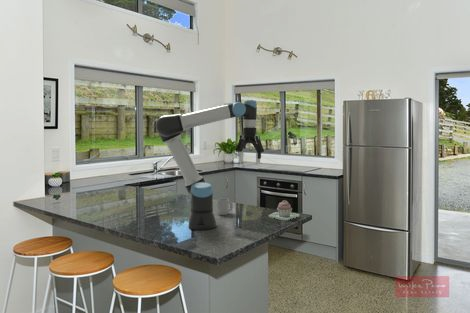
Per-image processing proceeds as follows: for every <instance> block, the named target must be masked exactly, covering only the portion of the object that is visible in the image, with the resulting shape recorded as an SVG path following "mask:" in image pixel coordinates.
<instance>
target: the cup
mask: <svg viewBox="0 0 470 313" xmlns="http://www.w3.org/2000/svg"><path fill="white" fill-rule="evenodd" d="M233 209H234V204H233V201H231V200H229V198H218V199H217V200H216V213H217V215H220V216H226V215H229V213H230V212H231V211H233Z"/></svg>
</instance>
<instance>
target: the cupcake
mask: <svg viewBox="0 0 470 313" xmlns="http://www.w3.org/2000/svg"><path fill="white" fill-rule="evenodd" d="M292 210H293V208H292V207H291V204H290V203H289V202H288V200H285V199H284V200H282V201H281V202H279V203H278V205H277V208H276V211H277V212H278V213H279V216H280V217H289V216H290V213H292Z"/></svg>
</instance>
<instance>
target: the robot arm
mask: <svg viewBox="0 0 470 313" xmlns="http://www.w3.org/2000/svg"><path fill="white" fill-rule="evenodd" d="M257 105H258V104H257V101H256V100H251V99H250V100H249V99H246V100H244V101H243V102H241V101H236V102H234V103H231V102H230V103H223V105H221V106H220V105H219V106H216V107H212V108H207V109H202V110H198V111H194V112H190V113H186V114H181V113H177V114H170V115H169V114H165V115H162V116H160V117H159V118H157V120H156V122H155V129H156V131H157V133H158V135H159V137H160V139H161V142H162V143H163V144H165V145H167V148H168V149H169V151H170V154H171V155H172V157H173V159H174V161H175V163H176V165H177V167H178V169H179V172H180V174H181V175H182V177H183V179H184V181H185V182H184V188H185V190H186V192H187V193H188V196H189V198H190V201H191V203H190V204H191V205H190V206H191V207H190V208H191V214H190V217H189V221H188V228H189V229H191V230H194V231H195V230H196V231H207V230H213V229H215V228H216V227H217V220H216V217H215V215H214V208H213V207H214V206H213V205H214V202H213V199H214V198H213V195H214V194H213V193H214V189H213V185H212V184H211V183H209V182H206V181H205V178H204V176H203V175H200V174H199V171H198V170H197V168H196V166H195V163H194V162H193V160H192V157H191V156H190V154H189V151H188V149H187V147H186V146H185V143H184V142H183V139H182V133H183V132H185V130H188V129H191V128H192V129H193V128H195V127H199V126H200V127H201V126H204V125H208V124H211V123H215V122H220V121H225V120H229V119H234V118H237V117H242V118H243V129H242V130H243V131H242V132H243V134H241V135H239V140H238V143H237V144H236V147H235V151H237V152H238V153H237V154H238V155H237V156H238V163H244V151H243V150H244V149H245V147H246V146H247V144H252V145H253V148H254V149H255V151H256V153H255V165H261V158H262V153H264V152H265V150H264V146H263V143H262V141H261V135H256V134H257V114H258V113H257V111H258V110H257V109H258V107H257Z"/></svg>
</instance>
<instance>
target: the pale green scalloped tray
mask: <svg viewBox="0 0 470 313" xmlns="http://www.w3.org/2000/svg"><path fill="white" fill-rule="evenodd" d="M296 217H297V218H299V217H300V214H298V213H295V212H294V213H293V212H291V213H290V216H289V217H280V216H279V213H278V211H275V212H272V213H271V214H270V213H269V214H268V218H270V219H274V218H275V219H276V220H280V221H285V222H288V221H290V219H291V220H294V219H297V218H296ZM293 218H294V219H293Z"/></svg>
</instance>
